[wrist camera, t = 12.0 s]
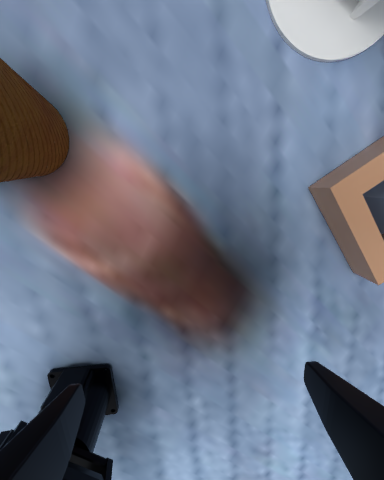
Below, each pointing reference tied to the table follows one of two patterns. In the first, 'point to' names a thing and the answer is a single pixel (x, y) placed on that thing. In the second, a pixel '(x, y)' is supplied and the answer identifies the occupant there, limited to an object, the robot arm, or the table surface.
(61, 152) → the disposable coffee cup
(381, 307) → the table surface
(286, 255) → the table surface
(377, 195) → the post
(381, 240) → the frame
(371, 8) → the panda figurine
